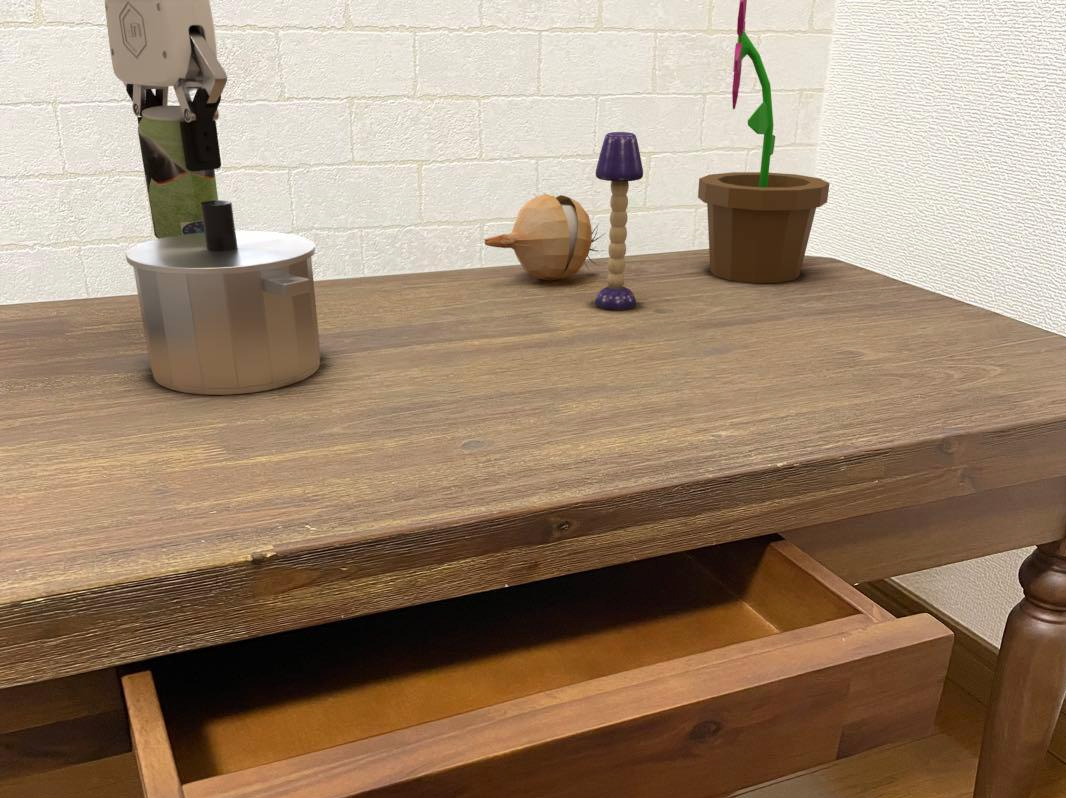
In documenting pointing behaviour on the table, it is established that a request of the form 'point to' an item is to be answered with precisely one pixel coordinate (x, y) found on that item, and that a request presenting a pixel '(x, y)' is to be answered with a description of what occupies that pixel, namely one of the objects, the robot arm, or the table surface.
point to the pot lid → (220, 248)
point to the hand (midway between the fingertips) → (182, 164)
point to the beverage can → (172, 175)
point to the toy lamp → (618, 212)
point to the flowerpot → (759, 200)
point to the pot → (230, 329)
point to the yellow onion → (549, 237)
